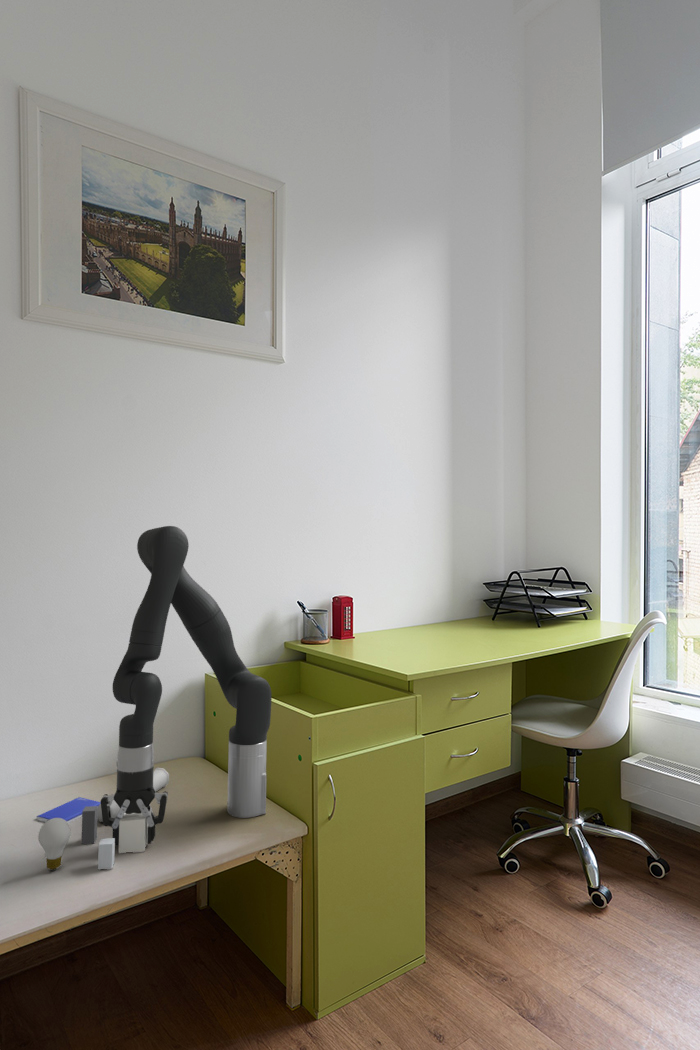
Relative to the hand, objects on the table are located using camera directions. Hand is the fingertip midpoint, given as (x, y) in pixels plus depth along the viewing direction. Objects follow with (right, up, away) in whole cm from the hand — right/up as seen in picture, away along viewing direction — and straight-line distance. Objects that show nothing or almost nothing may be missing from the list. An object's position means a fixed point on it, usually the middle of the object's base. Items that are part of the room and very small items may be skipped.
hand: (133, 843), depth 139 cm
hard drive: (-21, -2, +17) cm, 27 cm away
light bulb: (-13, 0, -10) cm, 16 cm away
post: (-11, -1, +2) cm, 11 cm away
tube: (-8, -2, +23) cm, 24 cm away
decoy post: (-3, 0, -9) cm, 9 cm away
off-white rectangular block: (0, -1, 0) cm, 1 cm away
